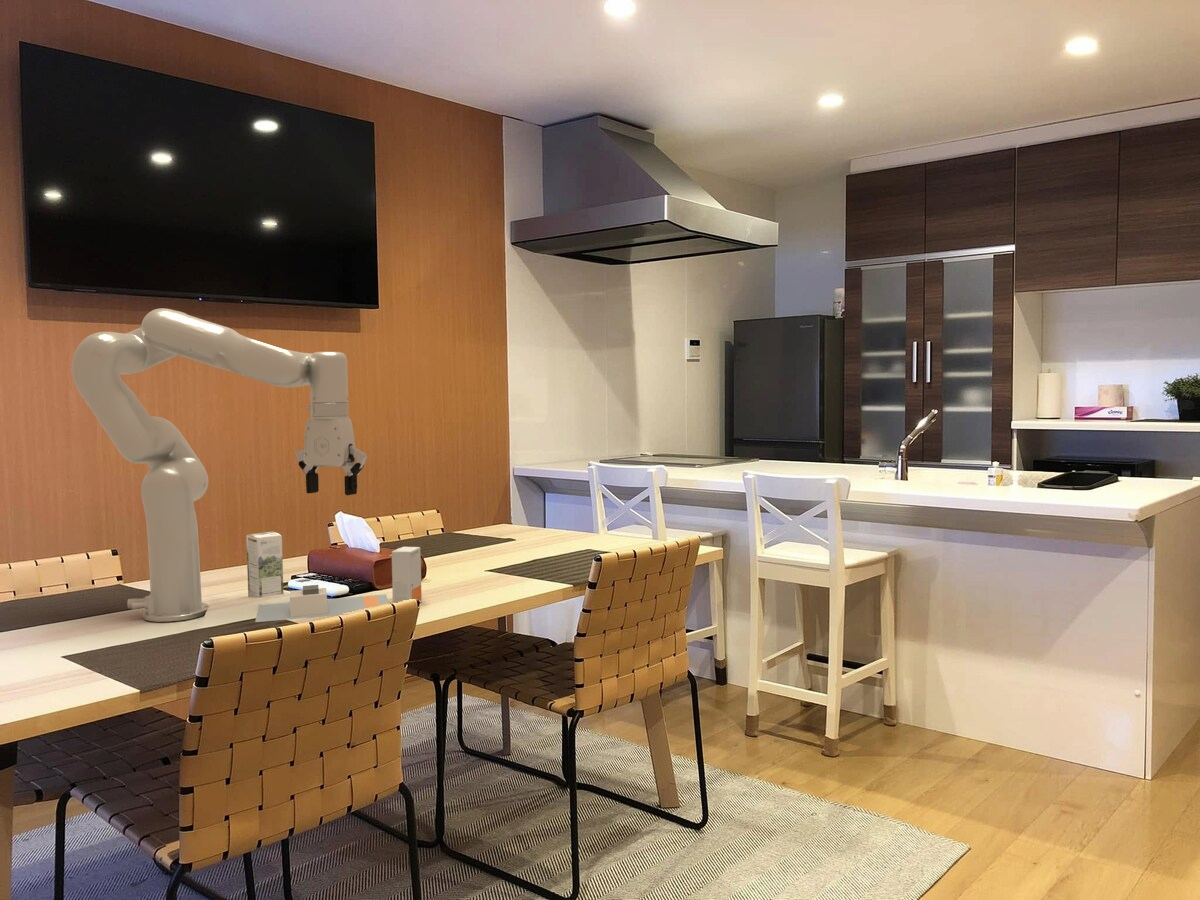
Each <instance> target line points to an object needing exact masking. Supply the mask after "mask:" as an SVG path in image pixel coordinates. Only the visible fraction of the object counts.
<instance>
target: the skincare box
mask: <svg viewBox="0 0 1200 900" xmlns="http://www.w3.org/2000/svg"><path fill="white" fill-rule="evenodd" d="M421 557H422V556H421V546H401V547H398V548H397V549H394V550H392V551H391V583H392V586H391V588H392V603H397V602H398V601H403V600H409V599H419V600H420V601H422V598H423V597H422V595H423V593H422V560H421V559H422V558H421Z"/></svg>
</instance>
